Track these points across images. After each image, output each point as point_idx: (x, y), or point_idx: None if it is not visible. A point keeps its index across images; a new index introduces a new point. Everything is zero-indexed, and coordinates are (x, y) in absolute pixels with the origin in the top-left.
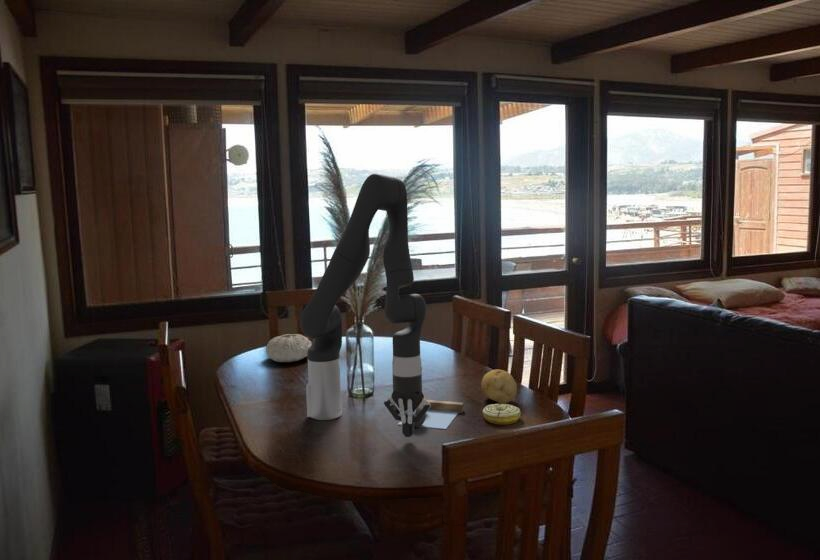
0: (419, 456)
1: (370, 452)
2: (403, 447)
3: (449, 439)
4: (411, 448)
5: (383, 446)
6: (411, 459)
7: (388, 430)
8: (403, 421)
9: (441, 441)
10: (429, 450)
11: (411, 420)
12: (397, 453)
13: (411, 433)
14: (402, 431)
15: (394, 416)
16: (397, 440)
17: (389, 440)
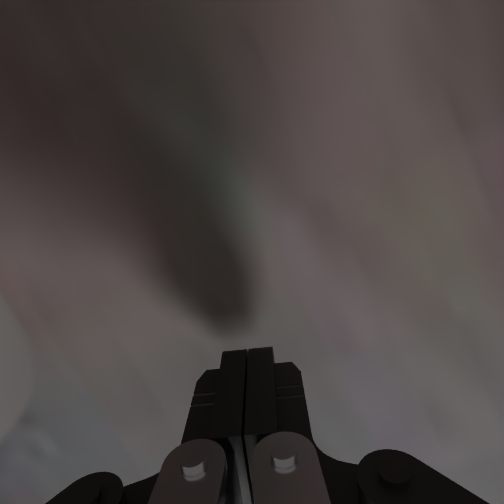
0: (21, 109)
1: (475, 11)
2: (238, 234)
3: (12, 472)
4: (169, 240)
5: (408, 191)
6: (44, 14)
7: (484, 475)
8: (282, 448)
9: (39, 428)
10: (21, 255)
11: (164, 483)
12: (226, 94)
13: (209, 381)
14: (300, 378)
15: (448, 496)
16: (345, 341)
17: (406, 320)
